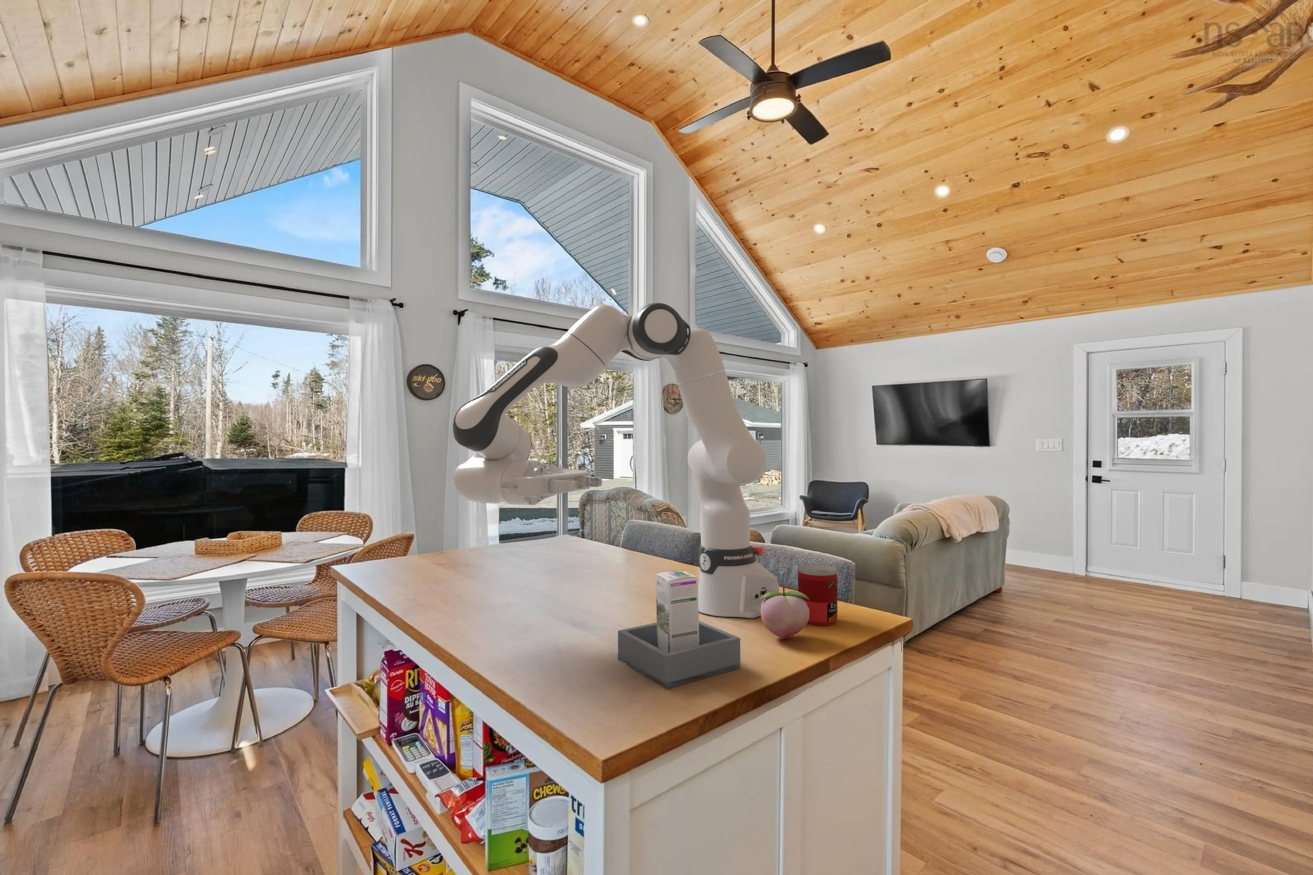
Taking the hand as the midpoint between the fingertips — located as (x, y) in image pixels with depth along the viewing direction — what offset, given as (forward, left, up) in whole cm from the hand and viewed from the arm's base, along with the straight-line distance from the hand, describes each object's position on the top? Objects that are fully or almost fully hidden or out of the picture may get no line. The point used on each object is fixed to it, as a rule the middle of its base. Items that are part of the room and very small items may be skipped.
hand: (588, 484), depth 113 cm
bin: (-7, +18, -30) cm, 36 cm away
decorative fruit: (-31, +19, -30) cm, 48 cm away
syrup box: (-7, +18, -29) cm, 35 cm away
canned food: (-45, +15, -30) cm, 57 cm away
